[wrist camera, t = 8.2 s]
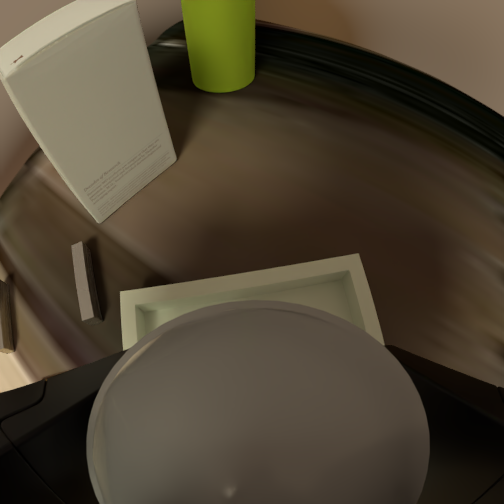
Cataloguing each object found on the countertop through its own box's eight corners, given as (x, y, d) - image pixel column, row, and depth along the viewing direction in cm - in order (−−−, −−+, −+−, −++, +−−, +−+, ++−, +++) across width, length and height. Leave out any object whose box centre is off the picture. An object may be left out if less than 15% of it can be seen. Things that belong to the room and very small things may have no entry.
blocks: (128, 412, 14) (120, 414, 13) (24, 432, 13) (13, 433, 12) (90, 249, 18) (81, 241, 17) (1, 288, 17) (-8, 282, 16)
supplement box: (180, 161, 21) (141, -4, 10) (99, 228, 19) (-3, 80, 8) (129, 121, 23) (87, -8, 12) (60, 174, 21) (-14, 55, 10)
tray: (392, 471, 13) (408, 480, 11) (167, 513, 12) (156, 527, 10) (347, 268, 18) (358, 253, 16) (133, 302, 17) (120, 291, 15)
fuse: (296, 452, 13) (365, 601, 2) (206, 431, 14) (72, 534, 2) (318, 367, 15) (455, 333, 4) (229, 347, 15) (135, 264, 4)
